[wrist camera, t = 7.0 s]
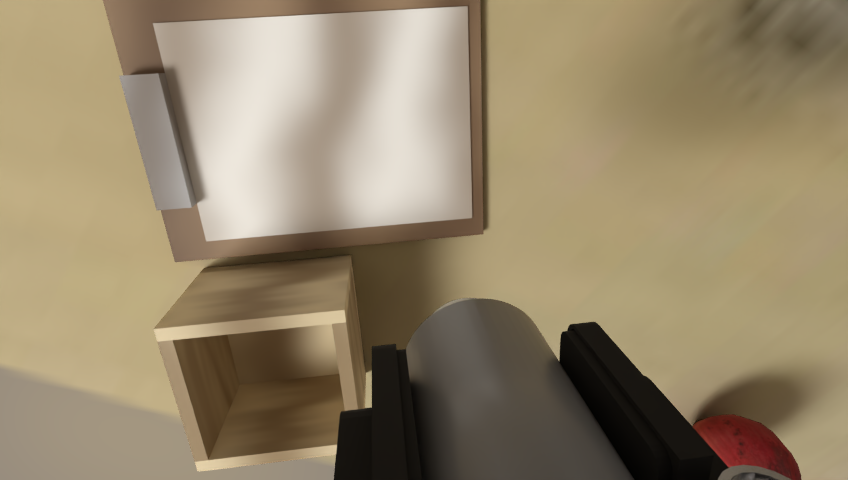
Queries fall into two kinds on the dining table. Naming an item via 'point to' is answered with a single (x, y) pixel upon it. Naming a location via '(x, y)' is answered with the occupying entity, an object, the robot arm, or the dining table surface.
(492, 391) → the cylinder
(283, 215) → the clipboard
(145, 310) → the dining table surface
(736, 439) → the onion
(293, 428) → the wooden box
